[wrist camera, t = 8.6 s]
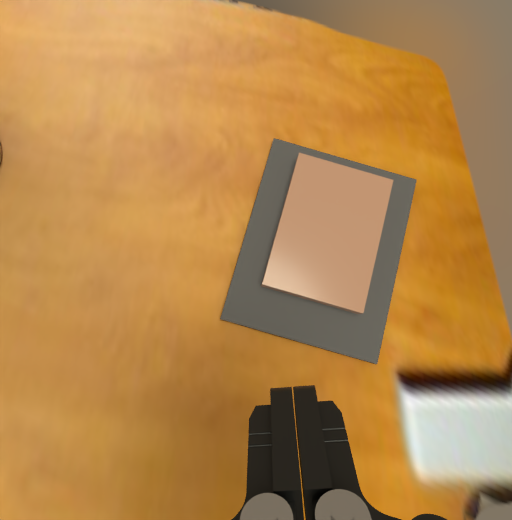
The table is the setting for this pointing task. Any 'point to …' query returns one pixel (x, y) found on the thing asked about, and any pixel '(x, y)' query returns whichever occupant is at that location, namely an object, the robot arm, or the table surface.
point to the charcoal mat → (299, 309)
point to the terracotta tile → (328, 234)
